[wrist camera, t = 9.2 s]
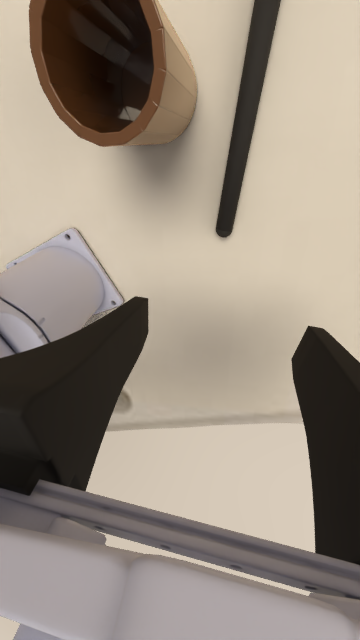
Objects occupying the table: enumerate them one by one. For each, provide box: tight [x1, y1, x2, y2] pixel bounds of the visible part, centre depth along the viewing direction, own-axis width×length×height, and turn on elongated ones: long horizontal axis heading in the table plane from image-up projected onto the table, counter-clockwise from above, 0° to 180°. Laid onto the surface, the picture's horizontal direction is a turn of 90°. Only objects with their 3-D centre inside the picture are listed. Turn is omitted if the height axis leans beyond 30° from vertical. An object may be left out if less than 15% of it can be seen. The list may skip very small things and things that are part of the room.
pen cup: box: [29, 0, 197, 147], centre depth 12 cm, size 5×5×8 cm
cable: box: [216, 0, 281, 237], centre depth 13 cm, size 19×2×1 cm, turn 174°
